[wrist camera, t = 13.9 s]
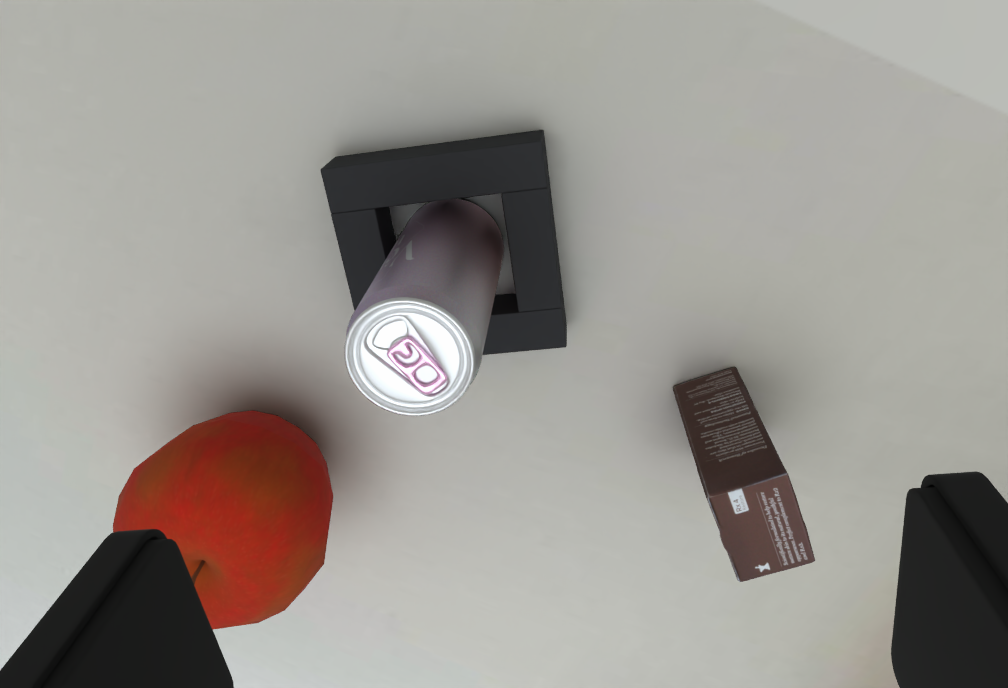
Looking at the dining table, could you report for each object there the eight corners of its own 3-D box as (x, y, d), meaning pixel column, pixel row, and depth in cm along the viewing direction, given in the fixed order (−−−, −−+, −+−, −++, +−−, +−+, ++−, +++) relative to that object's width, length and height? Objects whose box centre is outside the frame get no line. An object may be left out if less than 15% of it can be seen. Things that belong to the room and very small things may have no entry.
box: (765, 437, 51) (818, 566, 40) (697, 456, 52) (731, 587, 41) (740, 359, 48) (790, 474, 38) (669, 381, 49) (698, 499, 39)
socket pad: (334, 156, 45) (319, 169, 42) (543, 129, 43) (542, 140, 40) (378, 344, 50) (367, 366, 47) (566, 325, 48) (566, 347, 46)
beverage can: (449, 308, 48) (405, 443, 35) (384, 235, 47) (310, 348, 33) (525, 252, 46) (508, 372, 33) (459, 174, 45) (413, 267, 31)
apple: (368, 388, 51) (304, 527, 39) (355, 529, 57) (295, 692, 44) (183, 355, 51) (57, 484, 39) (187, 500, 57) (78, 655, 44)
